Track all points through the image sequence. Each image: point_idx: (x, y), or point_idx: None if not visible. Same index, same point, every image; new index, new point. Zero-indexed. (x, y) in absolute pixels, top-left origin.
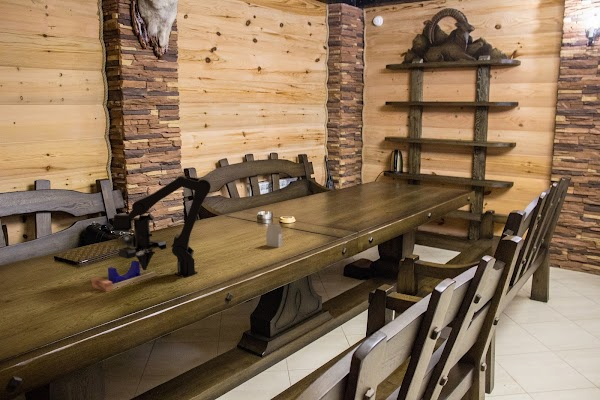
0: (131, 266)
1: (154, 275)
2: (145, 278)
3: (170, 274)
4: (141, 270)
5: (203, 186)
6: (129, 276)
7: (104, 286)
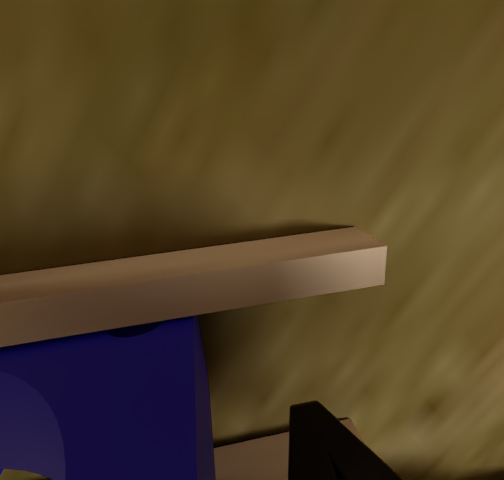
0: (73, 467)
1: None
2: None
3: (446, 475)
4: (320, 285)
5: None
6: (8, 456)
7: None
